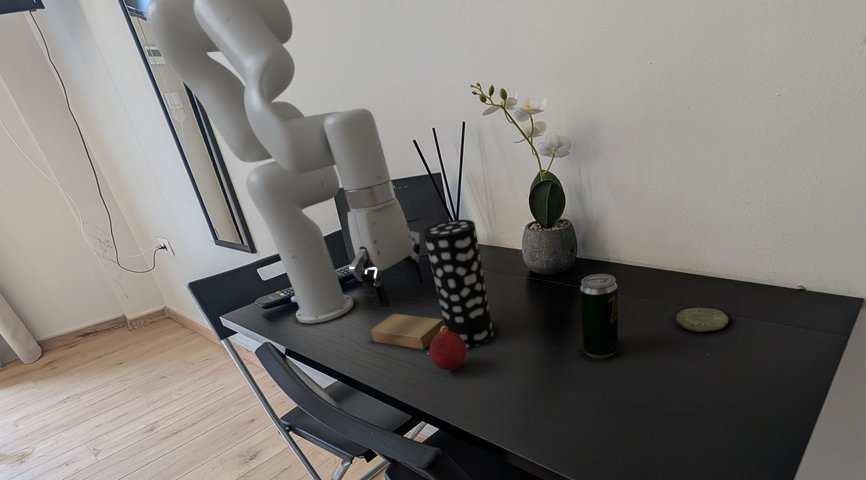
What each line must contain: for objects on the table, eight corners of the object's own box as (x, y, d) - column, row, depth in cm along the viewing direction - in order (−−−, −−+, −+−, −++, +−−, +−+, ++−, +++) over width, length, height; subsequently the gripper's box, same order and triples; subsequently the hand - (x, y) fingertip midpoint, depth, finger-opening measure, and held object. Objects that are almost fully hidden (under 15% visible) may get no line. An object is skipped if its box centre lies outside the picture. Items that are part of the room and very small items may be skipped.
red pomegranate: (456, 383, 73) (445, 338, 69) (428, 376, 76) (416, 333, 72) (476, 364, 77) (468, 320, 73) (449, 358, 80) (439, 316, 76)
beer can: (581, 359, 73) (577, 288, 67) (586, 341, 78) (582, 273, 71) (616, 360, 72) (615, 287, 65) (619, 342, 76) (618, 272, 70)
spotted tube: (488, 347, 81) (467, 233, 70) (442, 348, 83) (416, 238, 72) (497, 324, 88) (479, 217, 77) (455, 325, 90) (432, 222, 79)
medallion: (680, 307, 82) (681, 303, 82) (730, 311, 79) (731, 307, 78) (671, 329, 77) (672, 325, 76) (725, 334, 73) (725, 330, 73)
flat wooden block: (373, 341, 89) (370, 330, 88) (396, 324, 94) (393, 313, 93) (423, 349, 84) (420, 337, 82) (445, 331, 88) (442, 319, 87)
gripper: (387, 184, 83) (412, 274, 92) (314, 212, 71) (351, 314, 80) (420, 181, 80) (443, 276, 88) (350, 211, 67) (384, 317, 76)
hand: (399, 294), depth 84 cm, fingers open, 9 cm apart
